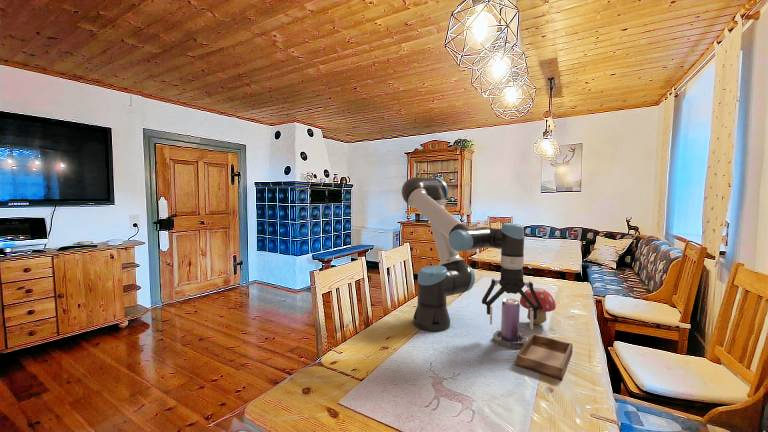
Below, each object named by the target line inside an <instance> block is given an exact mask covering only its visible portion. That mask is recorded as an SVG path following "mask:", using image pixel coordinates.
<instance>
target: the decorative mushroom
mask: <svg viewBox="0 0 768 432" xmlns="http://www.w3.org/2000/svg"><path fill="white" fill-rule="evenodd" d="M533 289H534V291H535V293H536V295H537V297H538V299H539V301H540V303H541V305H542V307H543V309H542V310H537V319H533V325H537V326H538V325H542V324H543V323H546V322H547V313H549V312H553V311H555V310H556V308H557V306H556V301H555V299H554V297H553V295H552V294H551V293H550V292H549V291H547V290H546V289H544V288H541V287H533ZM524 293H525V294H526V295H527V296H528V297H529V299H530V300H531V301H532V302H533V303H534V305H537V303H536V301H535V299H534V297H533V295H532V293H531V291H530V289H529V288H527V289H526V290H525V291H524ZM519 304H520V306H521V307H523V308H524V309H527V319H528V320H529V321H530V308H532V307H531V306H530V305H529V304H528V303H527V302H526V300H525V299H524V298H523V297H522V296H521V295H520V297H519Z"/></svg>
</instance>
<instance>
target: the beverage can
mask: <svg viewBox="0 0 768 432" xmlns="http://www.w3.org/2000/svg"><path fill="white" fill-rule="evenodd" d="M520 307H521V304H520V300H517V299H515V298H503V299H502V302H501V325H500V331H501V336H500V339H502V340H505V341H509V342H520V340H519V333H520V311H521V310H520Z"/></svg>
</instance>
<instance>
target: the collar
mask: <svg viewBox="0 0 768 432" xmlns="http://www.w3.org/2000/svg"><path fill="white" fill-rule="evenodd" d="M492 336H493V337H492V340H493V341H494V342H495V343H496V344H497V345H498V346H501V347H504V348H507V349H514V350H515V349H521V348H522V347H523V346H524V344H525V343H526V341H527V340H528V339H527V337H525V336H524V335H523V334H522V333H520V332H519V341H518V342H509V341H505V340H502V339H501V330H496V331H495V332H494V333H493V334H492Z"/></svg>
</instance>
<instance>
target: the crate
mask: <svg viewBox="0 0 768 432" xmlns="http://www.w3.org/2000/svg"><path fill="white" fill-rule="evenodd" d="M573 347H574V346H573V343H571V342H567V341H563V340H560V339H556V338H552V337H547V336H544V335H540V334H537V333H531V335H530V336H529V337H528V339H527V341H526V343H525V344H524V346H523V347H522V348H520V350H519V351H518V352H517V353H516V359H515V360H516V362H515V363H516V364H515V366H516V367H518V368H522V369H525V370H529V371H531V372H535V373H536V374H537V373H538V374H541V375H544V376H547V377H550V378H553V379H556V380H558V381H559V380H560V381H563V379H564V377H565V374H566V372H567V368H568V366H569V363H570V361H571V359H572V355H573V349H574V348H573Z"/></svg>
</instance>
